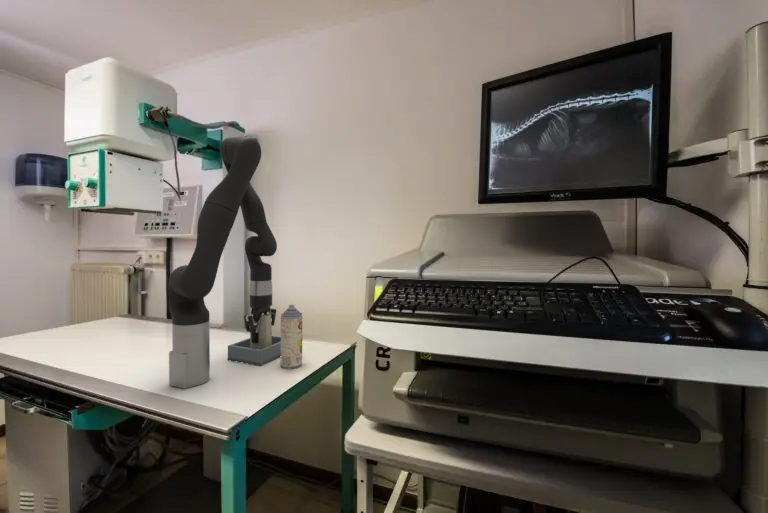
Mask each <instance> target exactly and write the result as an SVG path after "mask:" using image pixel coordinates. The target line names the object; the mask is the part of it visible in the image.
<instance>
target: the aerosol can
mask: <svg viewBox="0 0 768 513" xmlns="http://www.w3.org/2000/svg"><path fill="white" fill-rule="evenodd" d="M280 315H281V316H280V337H281V357H280V368H281V369H284V370H285V369H286V370H293V369H298V368H301V367H302V366H303V313H302V312H300V311H299V309H297V308H296V307H295V304H293V303H290V304H289V305H288V308H286V310H284V312H283V313H281V314H280Z"/></svg>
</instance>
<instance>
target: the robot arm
mask: <svg viewBox="0 0 768 513" xmlns="http://www.w3.org/2000/svg"><path fill="white" fill-rule="evenodd" d="M219 151H220V153H219V154H220V157H221V159H222V162H223V165H224V167H225V170H226V173H227V174H226V176H225V177H224V178H223V179H222V180H221V181H220V182H218V184H217V185H216V186H215V187H214V188H213V189H212V190H211V192H210V193H209V194H208V195H207V197H206V198H205V200H204V203H203V205H202V208H201V211H200V213H199V216H198V218H197V226H196V227H197V229H196V230H197V233H196V244H195V248H194V251H193V254H192V255H191V258H190V260H189V262H188V264H186V265H180V266H178V267H177V268H175V269H174V270H173V271H172V272H171V273H170V276H169V277H168V286H167V288H168V306H169V307H168V308H169V313H170V315H171V323H172V328H171V329H172V331H171V332H172V346H171V347H172V350H170V351H169V353H168V374H169V376H168V382H169V383H168V384H169V386H172V387H175V388H181V389H183V390H184V389H188V388H192V387H196V386H200V385H203V384H205V383H207V382H209V380H210V374H211V373H210V372H211V370H210V369H211V366H210V364H211V362H210V359H211V358H210V357H211V356H210V352H211V351H210V350H211V349H210V348H211V347H210V344H211V343H210V342H211V340H210V338H211V337H210V327H211V326H210V311H209V309H208V308H207V306H206V302H205V300H204V298H205V297H206V296H208V295H209V294H210V293H211V291H212V289H213V287H214V286H215V281H216V278H217V274H218V269H219V265H220V261H221V258H222V254H223V252H224V249H225V247H226V244H227V242H228V240H229V236H230V233H231V231H232V229H233V226H234V223H235V221H236V218H237V216H238V213H239V209H240V210H241V214H242V217H243V222H244V226H245V229H246V230H247V231H249V232H252V233H254V234H256V235H251V236H249V237H248V238H247V239H246V241H245V244H244V250H245V251H244V252H245V255H246V258H247V262H248V265H249V269H250V270H249V272H250V273H249V274H250V275H249V279H250V281H249V307H250V309H251V311H250V313H249V314H248V315H247V314H245V315H244V316H243V320H244V325H245V329H246V330H245V331H246V332H248V333H250V332H251V341H252V343H255V344H256V343H258V330H259V327H260V326H261V318H262V317H263V316H264V315H269V314H271V326H272V327H273V326H275V323H276V316H277V309H276V308H271V307H272V306H273V281H272V278H273V277H272V273H273V272H272V265H271V264H270V263H267V262H265V261H263V259H262V258H261V257H272V256H274V255H275V254H276V252H277V250H278V244H277V240H276V237H275V236H274V234H273V232H272V230H271V228H270V226H269V224H268V221H267V216H266V213H265V208H264V204H263V203H262V200H261V198H260V196H259V195H258V193H257V192H256V191H255V190H256V189H255V188H254V187H253V185H252V184H251V180H252V179H253V176H254V174H255V173H256V170H257V168H258V166H259V164H260V162H261V158H262V147H261V144H260V143H259V141H258V140H257V139H256V138H255V137H251V136H231V137H226V138H224V139H223V141H221V143H220V146H219ZM253 320H254V321H256V322H258V323H253ZM254 326H256V328H255V329H254Z"/></svg>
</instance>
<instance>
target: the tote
mask: <svg viewBox="0 0 768 513" xmlns="http://www.w3.org/2000/svg"><path fill="white" fill-rule="evenodd" d="M280 356H281V336H280V335H279V336H278V335H272V345H271V346H269V347H266V348H264V349H261V350H259V349H253V348H251V347H250V337H249V338H246V339H245V338H244V339H243V340H239V341H237V342H234V343H231V344H229V345H227V361H229V360H231V361H230V362H235V361H237V362H236V363H240V362H243V363H242V364H246V363H248V364H247V365H251V364H253V365H252V366H257V365H258V367H262V366H264V365H267V364H269V363H271V362H273V361H275V360H277V359H279V358H281V357H280ZM276 358H277V359H276Z"/></svg>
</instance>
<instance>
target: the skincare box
mask: <svg viewBox="0 0 768 513" xmlns="http://www.w3.org/2000/svg"><path fill="white" fill-rule="evenodd" d="M271 322H272V319H271V314H269V315H264V316H263V317H262V318H261V326H260V327H259V330H258V343H256V344H255V343H252V341H251V332H249V333H250V334H249V338H250V347H251V348H253V349H259V350H261V349H264V348H266V347H269V346H271V345H272V336H273V335H272V328H273V326H271ZM253 323H258V322H256V321H254V320H253ZM255 328H256V326H254V329H255Z"/></svg>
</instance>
